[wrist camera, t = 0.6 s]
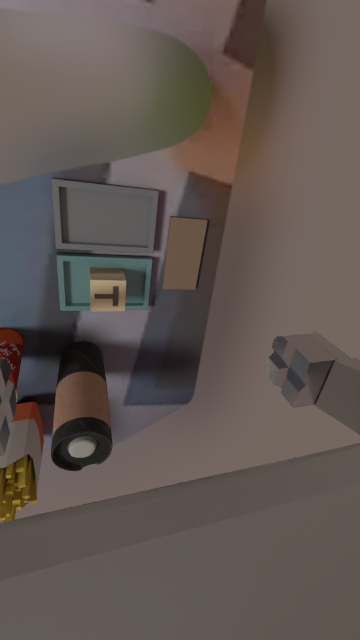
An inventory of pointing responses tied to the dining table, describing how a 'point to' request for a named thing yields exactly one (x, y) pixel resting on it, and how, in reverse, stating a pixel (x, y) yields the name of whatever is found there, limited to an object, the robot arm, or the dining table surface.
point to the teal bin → (78, 273)
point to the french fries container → (21, 461)
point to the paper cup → (11, 352)
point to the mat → (183, 252)
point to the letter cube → (107, 289)
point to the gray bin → (103, 216)
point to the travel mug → (81, 409)
